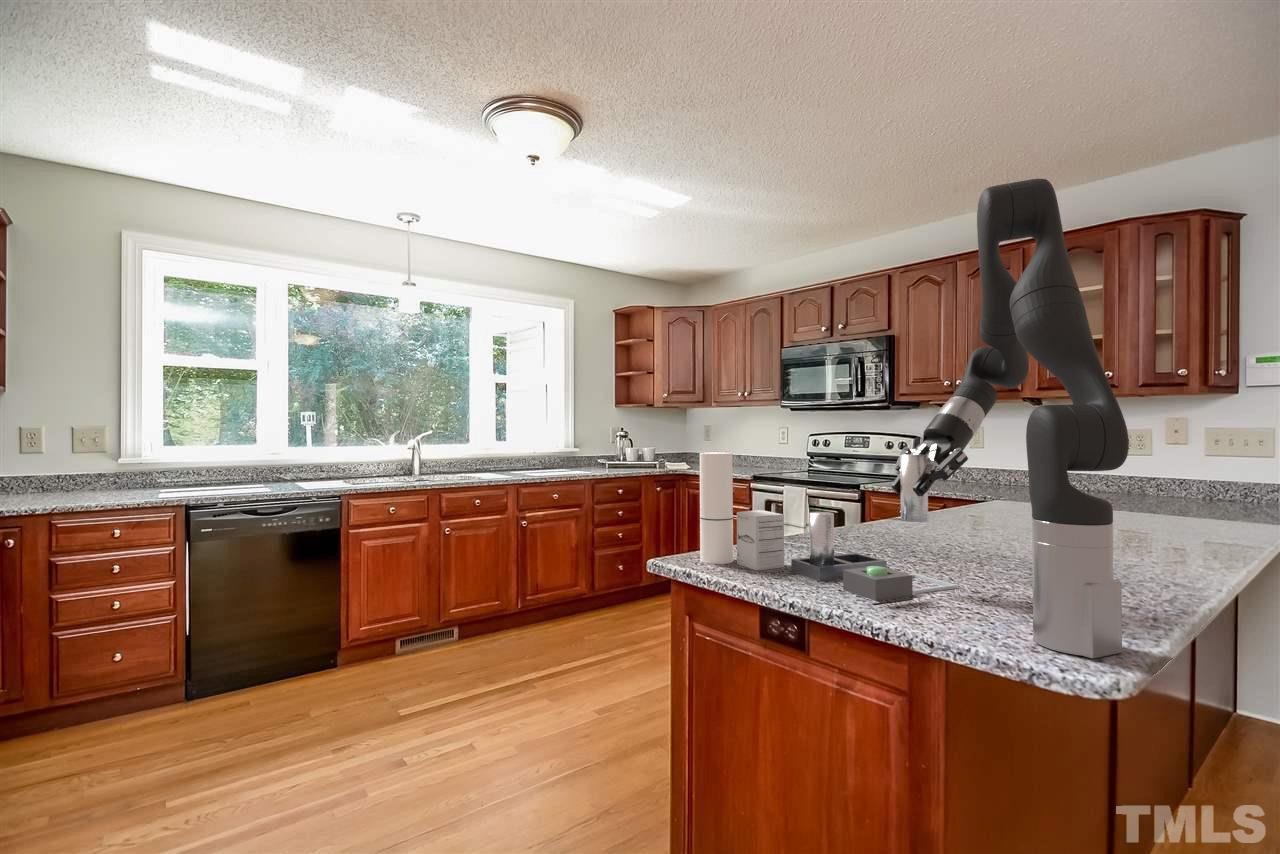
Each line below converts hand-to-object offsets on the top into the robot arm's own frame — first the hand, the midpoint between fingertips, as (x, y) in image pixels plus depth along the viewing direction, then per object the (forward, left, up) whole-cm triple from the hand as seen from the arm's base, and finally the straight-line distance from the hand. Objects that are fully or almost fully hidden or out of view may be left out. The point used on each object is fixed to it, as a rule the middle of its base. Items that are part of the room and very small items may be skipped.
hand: (906, 491), depth 114 cm
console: (-2, +9, -19) cm, 21 cm away
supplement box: (+25, +15, -19) cm, 35 cm away
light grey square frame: (0, -2, -19) cm, 19 cm away
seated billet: (+13, +9, -17) cm, 23 cm away
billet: (0, -2, -5) cm, 6 cm away
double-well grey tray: (+13, +5, -19) cm, 23 cm away
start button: (-2, +9, -16) cm, 18 cm away
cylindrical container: (+33, +21, -19) cm, 44 cm away
